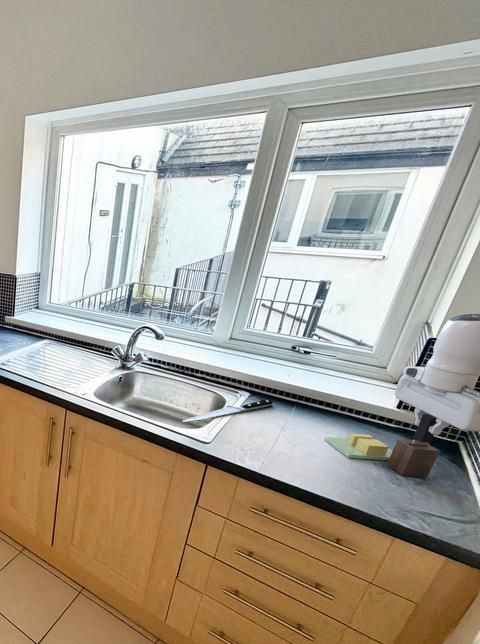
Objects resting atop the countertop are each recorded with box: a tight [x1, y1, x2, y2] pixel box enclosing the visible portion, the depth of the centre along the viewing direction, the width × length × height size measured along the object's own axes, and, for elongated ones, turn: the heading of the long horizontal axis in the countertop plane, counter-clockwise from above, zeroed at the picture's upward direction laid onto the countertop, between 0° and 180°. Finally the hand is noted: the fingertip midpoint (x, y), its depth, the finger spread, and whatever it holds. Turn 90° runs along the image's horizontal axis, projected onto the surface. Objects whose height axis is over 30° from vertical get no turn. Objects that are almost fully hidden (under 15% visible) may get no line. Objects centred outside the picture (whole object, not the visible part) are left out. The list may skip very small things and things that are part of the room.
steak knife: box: [182, 399, 274, 423], centre depth 143 cm, size 5×41×2 cm, turn 108°
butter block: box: [355, 438, 390, 456], centre depth 118 cm, size 5×4×3 cm
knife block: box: [386, 439, 440, 478], centre depth 110 cm, size 6×5×8 cm
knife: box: [411, 413, 438, 447], centre depth 108 cm, size 4×2×15 cm
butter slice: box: [348, 433, 375, 445], centre depth 122 cm, size 5×2×3 cm, turn 83°
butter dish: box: [323, 436, 393, 461], centre depth 121 cm, size 14×10×1 cm
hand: (426, 429), depth 107 cm, fingers closed on knife, 2 cm apart
